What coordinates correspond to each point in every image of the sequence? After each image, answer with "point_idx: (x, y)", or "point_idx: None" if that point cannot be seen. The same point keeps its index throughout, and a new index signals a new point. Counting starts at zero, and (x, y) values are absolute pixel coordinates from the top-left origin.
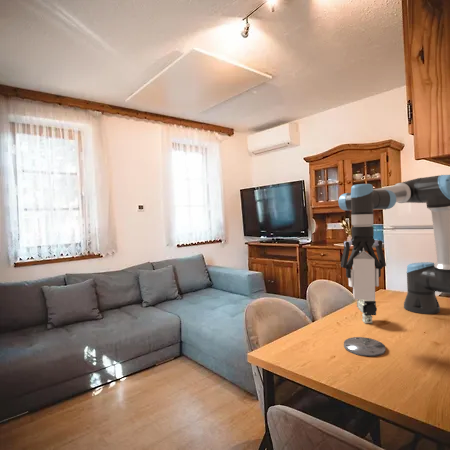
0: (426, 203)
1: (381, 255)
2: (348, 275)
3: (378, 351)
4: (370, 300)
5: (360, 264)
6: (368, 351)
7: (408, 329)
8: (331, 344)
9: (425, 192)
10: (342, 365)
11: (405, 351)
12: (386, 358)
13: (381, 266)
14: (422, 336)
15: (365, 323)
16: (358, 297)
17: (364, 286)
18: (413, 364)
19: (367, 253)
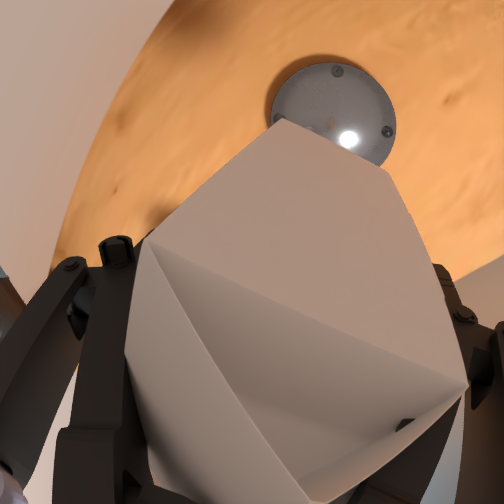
0: None
1: (25, 341)
2: (443, 278)
3: (316, 69)
4: None
5: (384, 288)
6: (346, 76)
7: (141, 215)
8: (416, 174)
9: None
10: (448, 46)
11: (224, 77)
12: (305, 44)
13: (102, 255)
14: (130, 166)
15: None
16: (369, 163)
17: (338, 164)
18: (250, 4)
19: (176, 447)
